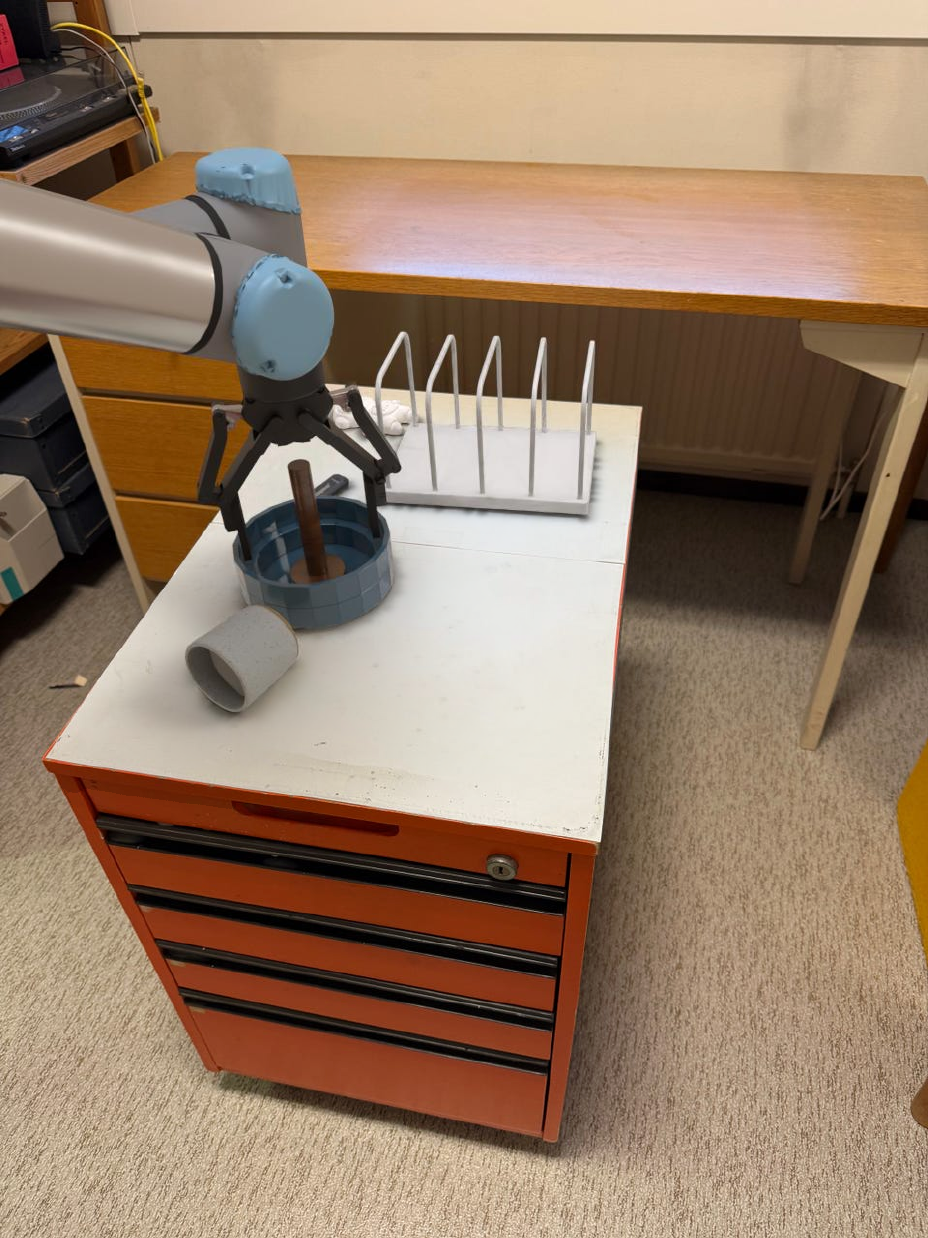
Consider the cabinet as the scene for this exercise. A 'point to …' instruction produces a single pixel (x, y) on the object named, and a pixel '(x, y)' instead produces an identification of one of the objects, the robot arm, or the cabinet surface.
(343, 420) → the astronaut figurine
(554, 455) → the file sorter
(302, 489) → the wooden post on disc
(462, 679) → the cabinet surface
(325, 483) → the usb stick
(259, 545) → the bowl
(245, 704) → the ceramic mug
